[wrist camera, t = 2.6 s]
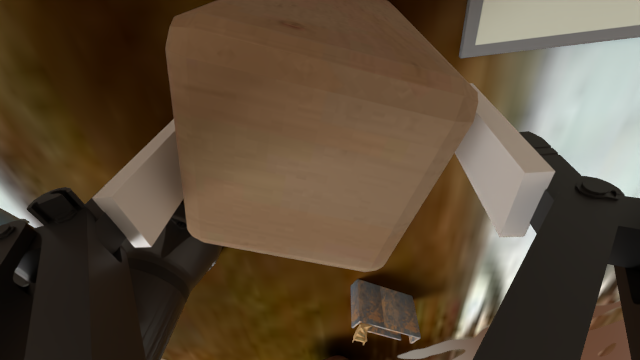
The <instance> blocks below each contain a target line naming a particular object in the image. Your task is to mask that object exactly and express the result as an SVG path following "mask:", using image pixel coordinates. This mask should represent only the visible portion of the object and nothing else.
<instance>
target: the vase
mask: <svg viewBox="0 0 640 360" xmlns="http://www.w3.org/2000/svg"><path fill="white" fill-rule="evenodd" d="M323 360H349V359H347V358H345V357H343V356H340V355H336V356H332V357H329V358H326V359H323Z"/></svg>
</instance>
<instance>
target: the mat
mask: <svg viewBox="0 0 640 360" xmlns="http://www.w3.org/2000/svg"><path fill="white" fill-rule="evenodd" d="M636 37H640V0H468V2H467V8H466V15H465V21H464V27H463V34H462V40H461V46H460V53H459V57H460V58H468V57H476V56H484V55H493V54H501V53H510V52H518V51H526V50H535V49H543V48H552V47H560V46H568V45H577V44H585V43H594V42H602V41H611V40H619V39H627V38H636Z"/></svg>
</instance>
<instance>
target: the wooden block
mask: <svg viewBox="0 0 640 360" xmlns="http://www.w3.org/2000/svg"><path fill="white" fill-rule="evenodd" d="M165 51H166V59H167V68H168V76H169V84H170V92H171V100H172V108H173V116H174V124H175V132H176V141H177V149H178V157H179V165H180V173H181V181H182V189H183V197H184V205H185V214H186V222H187V230H188V231H189V233H190V234H191V235H192V236H193V237H195V238H196V239H198V240H200V241H202V242H204V243H210V244H215V245H221V246H226V247H232V248H237V249H242V250H248V251H253V252H259V253H264V254H270V255H275V256H281V257H286V258H292V259H297V260H303V261H308V262H314V263H319V264H324V265H330V266H335V267H341V268H346V269H352V270H357V271H363V272H367V271H374V270H378V269H380V268H381V267H383V266H384V264H385V263H386V261H387V260H388V258H389V256H390V255H391V253H392V252H393V250H394V248H395V247H396V245H397V244H398V242H399V240H400V239H401V237H402V236H403V234H404V232H405V231H406V229H407V228H408V226H409V224H410V223H411V221H412V220H413V218H414V216H415V215H416V213H417V212H418V210H419V208H420V207H421V205H422V204H423V202H424V200H425V199H426V197H427V196H428V194H429V192H430V191H431V189H432V188H433V186H434V184H435V183H436V181H437V180H438V178H439V176H440V175H441V173H442V172H443V170H444V168H445V167H446V165H447V164H448V162H449V160H450V159H451V157H452V156H453V154H454V152H455V151H456V149H457V148H458V146H459V144H460V143H461V141H462V140H463V138H464V136H465V135H466V133H467V132H468V130H469V128H470V127H471V125H472V124H473V122H474V118H475V114H476V110H477V106H478V92H477V91H476V90H475V89H474V88H473V87H472V86H471V85H470V84H469V83H468V82H467V81H466V80H465V79H464V78H463V77H462V76H461V75H460V74H459V73H458V71H457V70H456V69H455V68H454V67H453V66H452V65H451V64H450V63H449V62H448V61H447V60H446V59H445V58H444V57H443V56H442V55H441V54H440V53H439V52H438V51H437V50H436V49H435V48H434V47H433V46H432V45H431V44H430V43H429V42H428V41H427V40H426V39H425V37H424V36H423V35H422V34H421V33H420V32H419V31H418V30H417V29H416V28H415V27H414V26H413V25H412V24H411V23H410V22H409V21H408V20H407V19H406V18H405V17H404V16H403V15H402V14H401V13H400V12H399V11H398V10H397V9H396V8H395V7H394V6H393V5H392V4H391V3H390V2H389V1H387V0H217V1H214V2H211V3H209V4H206V5H203V6H201V7H198V8H196V9H193V10H190V11H188V12H185V13H182V14H180V15H177V16H174V18H173V20H172V22H171V25H170V27H169V32H168V37H167V41H166V47H165Z"/></svg>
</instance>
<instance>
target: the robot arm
mask: <svg viewBox="0 0 640 360" xmlns="http://www.w3.org/2000/svg"><path fill="white" fill-rule="evenodd" d="M470 85H471V86H472V87H473V88H474V89H475V90H476V91H477V92H478V106H477V110H476V114H475V118H474V122H473V124H472V125H471V127H470V128H469V130H468V132H467V133H466V135H465V136H464V138H463V140H462V141H461V143H460V144H459V146H458V148H457V149H456V151H455V154H456V156H457V158H458V160H459V161H460V163H461V165H462V167H463V169H464V171H465V173H466V175H467V176H468V178H469V180H470V182H471V184H472V186H473V188H474V190H475V192H476V193H477V195H478V197H479V199H480V201H481V203H482V205H483V207H484V208H485V210H486V212H487V214H488V216H489V218H490V220H491V222H492V224H493V225H494V227H495V229H496V231H497V233H498V235H499V237H523V236H525V234H526V232H527V230H528V228H529V226H530V224H531V226H532V227H533V229H534V230H535V232H536V233H537V235H536V237H535V239H534V241H533V242H532V244H531V246H530V248H529V250H528V252H527V254H526V256H525V258H524V260H523V262H522V264H521V266H520V268H519V270H518V272H517V274H516V276H515V278H514V280H513V282H512V284H511V286H510V288H509V290H508V291H507V293H506V295H505V297H504V299H503V301H502V303H501V305H500V307H499V309H498V311H497V313H496V315H495V317H494V319H493V321H492V323H491V325H490V327H489V329H488V331H487V333H486V335H485V337H484V338H483V340H482V342H481V345H480V346H479V349H478V350H477V352H476V354H475V356H474V358H473V360H580V359H581V355H582V351H583V348H584V344H585V341H586V337H587V333H588V330H589V327H590V323H591V320H592V316H593V313H594V309H595V306H596V302H597V299H598V295H599V292H600V288H601V285H602V281H603V278H604V274H605V270H606V267H607V264H611V265H614V268H615V274H616V279H617V285H618V290H619V295H620V301H621V306H622V311H623V317H624V322H625V327H626V333H627V338H628V343H629V348H630V354H631V359H632V360H640V198H634V197H627V196H625V195H624V194H623V192H622V191H621V190H620V189H619V188H617V187H616V186H614V185H612V184H611V183H609V182H606V181H603V180H601V179H598V178H593V177H587V176H581V175H580V174H579V173H578V172H577V171H576V170H575V169H574V168H573V167H572V166H571V165H570V164H569V163H568V162H567V161H566V160H565V159H564V158H563V157H562V156H560V155H558V153H557V152H556V151H555V150H554V149H553V148H551V146H550V145H549V144H548V143H547V142H546V141H545V140H544V139H543V138H541V137H539V136H537V135H535V134H533V133H531V132H529V131H528V132H518V131H517V130H516V129H515V128H514V127H513V126H512V125H511V124H510V123H509V122H508V121H507V119H506V118H505V117H504V116H503V115H502V114H501V113H500V112H499V111H498V110H497V109H496V108H495V107H494V106H493V105H492V104H491V102H490V101H489V100H488V99H487V98H486V97H485V96H484V95H483V94H482V93H481V92H480V91H479V90H478V89H477V88H476V86H475V85H474V84H473V83H472V84H470ZM183 198H184V197H183V189H182V181H181V173H180V165H179V157H178V149H177V141H176V132H175V124H174V119H173V120H172V121H171V122H170V123H169V124H168V125H167V126H166V127H165V128H164V129H163V130H162V131H161V132H160V133H159V134H158V135H156V136H155V137H154V138H153V139H152V140H151V141H150V142H149V143H148V144H147V145H146V146H145V147H144V148H143V149H142V150H141V151H140V152H139V153H138V154H137V155H136V156H135V157H134V158H133V159H132V160H131V161H130V162H129V163H128V164H127V165H126V166H125V167H124V168H123V169H121V170H120V171H119V172H118V173H117V174H116V175H115V176H114V177H113V178H112V179H111V180H110V181H109V182H108V183H107V184H106V185H105V186H104V187H103V188H102V189H101V190H100V191H98V192H97V193H96V194H95V195H94V196H93V197H92V198H91V199H90V200H89V201H88V202H87V203H86V204H84V203H83V202H82V201H81V200H80V199H79V198H78V197H77V195H76V194H75V193H74V192H73V191H72V190H71V189H70V188H66V187H65V188H58V189H55V190H52V191H50V192H47V193H45V194H43V195H41V196H40V197H38V198H37V199H35V200H34V201H33V202H32V203H31V204H29V206H28V208H27V210H28V211H29V212H30V213H31V214H32V215H33V216H35V217H36V218H37V219H38V220H39V221H40V222H41V223H42V224H43V225H44V226H41V227H38V228H34V227H32V226H30V225H29V224H28V223H29V221H27V220H26V219H19V218H17V217H15V216H14V215H12V214H10V213H8V212H6V211H4V210H3V209H1V208H0V360H160V359H161V357H162V355H163V353H164V351H165V348H166V346H167V344H168V342H169V339H170V337H171V335H172V332H173V330H174V328H175V326H176V323H177V321H178V319H179V317H180V314H181V312H182V310H183V308H184V305H185V303H186V301H187V299H188V296H189V294H190V292H191V291H192V289H193V288H194V287H195V286H196V285H197V283H198V282H199V281H200V280H201V279H202V277H203V276H204V275H205V274H206V272H207V271H208V270H209V269H210V268H211V267H212V266H213V265H214V264H215V263H216V261H217V259H218V257H219V255H220V252H221V250H222V246H221V245H215V244H210V243H204V242H202V241H200V240H198V239H196V238H195V237H193V236H192V235H191V234H190V233H189V231H188V230H187V222H186V214H185V205H183V204H180V203H181V201H182V200H183Z"/></svg>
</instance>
